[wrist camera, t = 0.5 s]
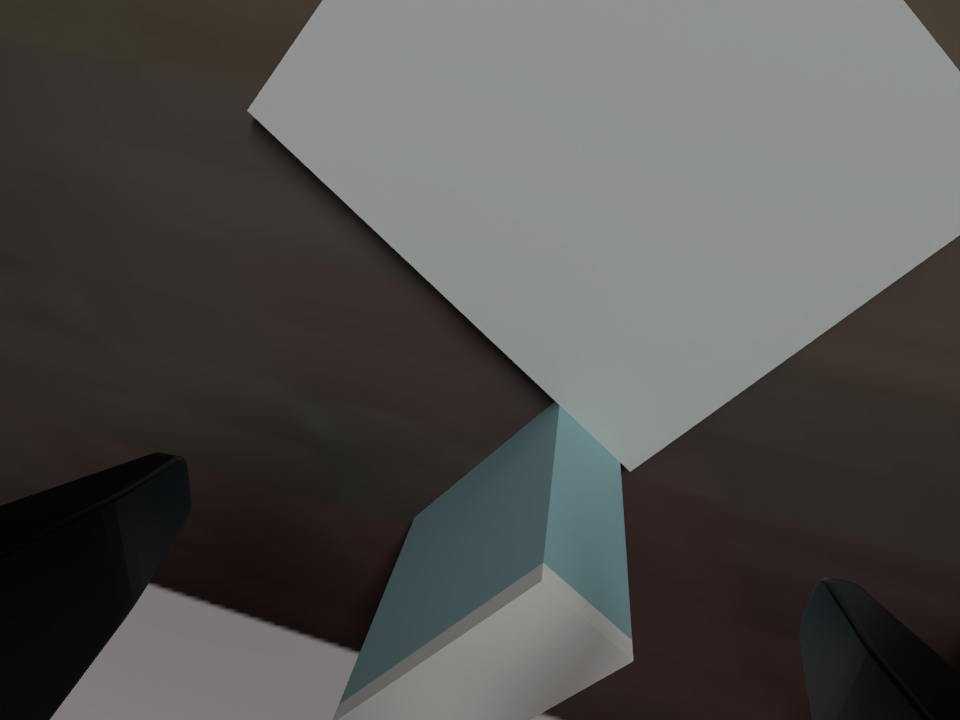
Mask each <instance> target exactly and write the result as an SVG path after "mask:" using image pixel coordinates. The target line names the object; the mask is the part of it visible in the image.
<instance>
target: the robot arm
mask: <svg viewBox="0 0 960 720" xmlns="http://www.w3.org/2000/svg"><path fill="white" fill-rule="evenodd" d="M190 510H191V492H190V484H189V475H188V467H187V463H186V461H185V460H184V459H183V458H182V457H180V456H176V455H170V454H165V453H153V454H150V455H147V456H144V457H141V458H138V459H135V460H132V461H129V462H126V463H124V464H121V465H118V466H115V467H112V468H109V469H106V470H103V471H100V472H97V473H94V474H92V475H89V476H86V477H83V478H80V479H77V480H74V481H71V482H68V483H65V484H62V485H60V486H57V487H54V488H51V489H48V490H45V491H42V492H39V493H36V494H33V495H31V496H28V497H25V498H22V499H19V500H16V501H13V502H10V503H7V504H4V505H1V506H0V720H50V718H51V717H52V716H53V714H54V713H55V712H56V710H57V709H58V708H59V706H60V705H61V704H62V702H63V701H64V700H65V698H66V697H67V696H68V694H69V693H70V692H71V690H72V689H73V688H74V686H75V685H76V684H77V682H78V681H79V680H80V678H81V677H82V676H83V674H84V673H85V672H86V670H87V669H88V668H89V666H90V665H91V664H92V662H93V661H94V659H95V658H96V657H97V656H98V654H99V653H100V652H101V650H102V649H103V648H104V646H105V645H106V644H107V642H108V641H109V640H110V638H111V637H112V636H113V634H114V633H115V632H116V630H117V629H118V628H119V626H120V625H121V623H122V622H123V621H124V619H125V618H126V617H127V615H128V614H129V612H130V611H131V610H132V608H133V607H134V605H135V604H136V602H137V601H138V599H139V598H140V596H141V594H142V593H143V591H144V590H145V588H146V586H147V585H148V583H149V581H150V580H151V578H152V577H153V575H154V573H155V572H156V570H157V568H158V567H159V565H160V563H161V562H162V560H163V558H164V557H165V555H166V553H167V552H168V550H169V548H170V547H171V545H172V543H173V542H174V540H175V538H176V537H177V535H178V533H179V532H180V530H181V529H182V527H183V525H184V524H185V522H186V520H187V518H188V516H189V514H190ZM799 642H800V648H801V655H802V661H803V668H804V674H805V680H806V687H807V693H808V700H809V706H810V713H811V719H812V720H960V673H959V672H958V671H957V670H956V669H955V668H953V667H952V666H951V665H950V664H949V663H948V662H947V661H945V660H944V659H943V658H942V657H941V656H940V655H938V654H937V653H936V652H935V651H934V650H933V649H931V648H930V647H929V646H928V645H927V644H926V643H925V642H923V641H922V640H921V639H920V638H919V637H918V636H916V635H915V634H914V633H913V632H912V631H911V630H910V629H908V628H907V627H906V626H905V625H904V624H903V623H901V622H900V621H899V620H898V619H897V618H896V617H894V616H893V615H892V614H891V613H890V612H889V611H888V610H886V609H885V608H884V607H883V606H882V605H881V604H879V603H878V602H877V601H876V600H875V599H874V598H872V597H871V596H870V595H869V594H868V593H867V592H866V591H864V590H863V589H862V588H861V587H860V586H858V585H857V584H855V583H852V582H848V581H843V580H837V579H832V578H823V579H820V580H819V581H818V582H817V584H816V586H815V588H814V591H813V593H812V596H811V598H810V601H809V603H808V606H807V608H806V611H805V613H804V616H803V618H802V621H801V624H800V629H799Z"/></svg>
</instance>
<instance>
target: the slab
mask: <svg viewBox="0 0 960 720" xmlns="http://www.w3.org/2000/svg"><path fill="white" fill-rule="evenodd" d="M631 662H633V649H632V634H631V618H630V603H629V588H628V573H627V558H626V543H625V527H624V512H623V497H622V482H621V467H620V462H619V461H618V460H617V459H616V458H615V457H614V456H613V455H612V454H611V453H610V452H609V451H608V450H606V449H605V448H604V447H603V446H602V445H601V444H600V443H599V442H598V441H597V440H596V439H595V438H594V437H593V436H592V435H591V434H590V433H588V432H587V431H586V430H585V429H584V428H583V427H582V426H581V425H580V424H579V423H578V422H577V421H576V420H575V419H574V418H573V417H571V416H570V415H569V414H568V413H567V412H566V411H565V410H564V409H563V408H562V407H561V406H560V405H559V404H558V403H557V402H556V401H555V402H554V403H552V404H551V405H550V406H549V407H548V408H546V409H545V410H544V411H543V412H542V413H540V414H539V415H538V416H537V417H536V418H534V419H533V420H532V421H531V422H529V423H528V424H527V425H526V426H525V427H523V428H522V429H521V430H520V431H519V432H517V433H516V434H515V435H514V436H513V437H511V438H510V439H509V440H508V441H506V442H505V443H504V444H503V445H502V446H500V447H499V448H498V449H497V450H496V451H494V452H493V453H492V454H491V455H490V456H488V457H487V458H486V459H485V460H483V461H482V462H481V463H480V464H479V465H477V466H476V467H475V468H474V469H473V470H471V471H470V472H469V473H468V474H467V475H465V476H464V477H463V478H462V479H460V480H459V481H458V482H457V483H456V484H454V485H453V486H452V487H451V488H450V489H448V490H447V491H446V492H445V493H444V494H442V495H441V496H440V497H439V498H437V499H436V500H435V501H434V502H433V503H431V504H430V505H429V506H428V507H427V508H425V509H424V510H423V511H422V512H421V513H419V514H418V515H417V516H416V517H415V518H414V520H413V522H412V525H411V527H410V530H409V532H408V535H407V537H406V540H405V542H404V545H403V547H402V550H401V552H400V555H399V557H398V560H397V562H396V565H395V567H394V570H393V572H392V575H391V577H390V580H389V582H388V584H387V587H386V589H385V592H384V594H383V597H382V599H381V602H380V604H379V607H378V609H377V612H376V614H375V617H374V619H373V622H372V624H371V627H370V629H369V632H368V634H367V637H366V639H365V641H364V644H363V646H362V649H361V651H360V654H359V656H358V659H357V661H356V664H355V666H354V669H353V671H352V674H351V676H350V679H349V681H348V684H347V686H346V689H345V691H344V694H343V696H342V699H341V701H340V704H339V706H338V709H337V711H336V713H335V716H334V718H333V720H530V719H532V718H534V717H535V716H537V715H539V714H541V713H542V712H544V711H546V710H548V709H549V708H551V707H553V706H555V705H557V704H558V703H560V702H562V701H564V700H565V699H567V698H569V697H571V696H572V695H574V694H576V693H578V692H580V691H581V690H583V689H585V688H587V687H588V686H590V685H592V684H594V683H595V682H597V681H599V680H601V679H602V678H604V677H606V676H608V675H610V674H611V673H613V672H615V671H617V670H618V669H620V668H622V667H624V666H625V665H627V664H629V663H631Z"/></svg>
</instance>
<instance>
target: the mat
mask: <svg viewBox="0 0 960 720" xmlns="http://www.w3.org/2000/svg"><path fill="white" fill-rule="evenodd" d="M247 111H248V112H249V113H250V114H251V115H252V116H253V117H254V118H256V119H257V120H258V121H259V122H260V123H261V124H262V125H263V126H264V127H265V128H266V129H267V130H268V131H269V132H270V133H271V134H272V135H274V136H275V137H276V138H277V139H278V140H279V141H280V142H281V143H282V144H283V145H284V146H285V147H286V148H287V149H288V150H289V151H291V152H292V153H293V154H294V155H295V156H296V157H297V158H298V159H299V160H300V161H301V162H302V163H303V164H304V165H305V166H306V167H307V168H309V169H310V170H311V171H312V172H313V173H314V174H315V175H316V176H317V177H318V178H319V179H320V180H321V181H322V182H323V183H324V184H326V185H327V186H328V187H329V188H330V189H331V190H332V191H333V192H334V193H335V194H336V195H337V196H338V197H339V198H340V199H341V200H342V201H344V202H345V203H346V204H347V205H348V206H349V207H350V208H351V209H352V210H353V211H354V212H355V213H356V214H357V215H358V216H359V217H360V218H362V219H363V220H364V221H365V222H366V223H367V224H368V225H369V226H370V227H371V228H372V229H373V230H374V231H375V232H376V233H377V234H379V235H380V236H381V237H382V238H383V239H384V240H385V241H386V242H387V243H388V244H389V245H390V246H391V247H392V248H393V249H394V250H395V251H397V252H398V253H399V254H400V255H401V256H402V257H403V258H404V259H405V260H406V261H407V262H408V263H409V264H410V265H411V266H412V267H414V268H415V269H416V270H417V271H418V272H419V273H420V274H421V275H422V276H423V277H424V278H425V279H426V280H427V281H428V282H429V283H430V284H432V285H433V286H434V287H435V288H436V289H437V290H438V291H439V292H440V293H441V294H442V295H443V296H444V297H445V298H446V299H447V300H448V301H450V302H451V303H452V304H453V305H454V306H455V307H456V308H457V309H458V310H459V311H460V312H461V313H462V314H463V315H464V316H465V317H467V318H468V319H469V320H470V321H471V322H472V323H473V324H474V325H475V326H476V327H477V328H478V329H479V330H480V331H481V332H482V333H483V334H485V335H486V336H487V337H488V338H489V339H490V340H491V341H492V342H493V343H494V344H495V345H496V346H497V347H498V348H499V349H500V350H502V351H503V352H504V353H505V354H506V355H507V356H508V357H509V358H510V359H511V360H512V361H513V362H514V363H515V364H516V365H517V366H518V367H520V368H521V369H522V370H523V371H524V372H525V373H526V374H527V375H528V376H529V377H530V378H531V379H532V380H533V381H534V382H535V383H536V384H538V385H539V386H540V387H541V388H542V389H543V390H544V391H545V392H546V393H547V394H548V395H549V396H550V397H551V398H552V399H553V400H555V401H556V402H557V403H558V404H559V405H560V406H561V407H562V408H563V409H564V410H565V411H566V412H567V413H568V414H569V415H570V416H571V417H573V418H574V419H575V420H576V421H577V422H578V423H579V424H580V425H581V426H582V427H583V428H584V429H585V430H586V431H587V432H588V433H590V434H591V435H592V436H593V437H594V438H595V439H596V440H597V441H598V442H599V443H600V444H601V445H602V446H603V447H604V448H605V449H606V450H608V451H609V452H610V453H611V454H612V455H613V456H614V457H615V458H616V459H617V460H618V461H619V462H620V463H621V464H622V465H623V466H624V467H626V468H627V469H628V470H629V471H630V472H631V471H632V470H633V469H635V468H636V467H638V466H639V465H640V464H642V463H643V462H645V461H646V460H647V459H649V458H650V457H652V456H653V455H654V454H656V453H657V452H658V451H660V450H661V449H663V448H664V447H665V446H667V445H668V444H670V443H671V442H672V441H674V440H675V439H677V438H678V437H679V436H681V435H682V434H683V433H685V432H686V431H688V430H689V429H690V428H692V427H693V426H695V425H696V424H697V423H699V422H700V421H702V420H703V419H704V418H706V417H707V416H709V415H710V414H711V413H713V412H714V411H715V410H717V409H718V408H720V407H721V406H722V405H724V404H725V403H727V402H728V401H729V400H731V399H732V398H734V397H735V396H736V395H738V394H739V393H741V392H742V391H743V390H745V389H746V388H747V387H749V386H750V385H752V384H753V383H754V382H756V381H757V380H759V379H760V378H761V377H763V376H764V375H766V374H767V373H768V372H770V371H771V370H773V369H774V368H775V367H777V366H778V365H779V364H781V363H782V362H784V361H785V360H786V359H788V358H789V357H791V356H792V355H793V354H795V353H796V352H798V351H799V350H800V349H802V348H803V347H805V346H806V345H807V344H809V343H810V342H811V341H813V340H814V339H816V338H817V337H818V336H820V335H821V334H823V333H824V332H825V331H827V330H828V329H830V328H831V327H832V326H834V325H835V324H837V323H838V322H839V321H841V320H842V319H843V318H845V317H846V316H848V315H849V314H850V313H852V312H853V311H855V310H856V309H857V308H859V307H860V306H862V305H863V304H864V303H866V302H867V301H869V300H870V299H871V298H873V297H874V296H875V295H877V294H878V293H880V292H881V291H882V290H884V289H885V288H887V287H888V286H889V285H891V284H892V283H894V282H895V281H896V280H898V279H899V278H901V277H902V276H903V275H905V274H906V273H907V272H909V271H910V270H912V269H913V268H914V267H916V266H917V265H919V264H920V263H921V262H923V261H924V260H926V259H927V258H928V257H930V256H931V255H932V254H934V253H935V252H937V251H938V250H939V249H941V248H942V247H944V246H945V245H946V244H948V243H949V242H951V241H952V240H953V239H955V238H956V237H958V236H959V235H960V71H959V70H958V69H957V67H956V66H955V65H954V64H953V62H952V61H951V60H950V59H949V57H948V56H947V55H946V54H945V52H944V51H943V50H942V48H941V47H940V46H939V45H938V43H937V42H936V41H935V40H934V38H933V37H932V36H931V35H930V33H929V32H928V31H927V29H926V28H925V27H924V26H923V24H922V23H921V22H920V21H919V19H918V18H917V17H916V16H915V14H914V13H913V12H912V10H911V9H910V8H909V7H908V5H907V4H906V3H905V2H904V0H323V1H322V2H321V4H320V5H319V6H318V8H317V9H316V11H315V12H314V14H313V15H312V17H311V18H310V20H309V21H308V23H307V24H306V25H305V27H304V28H303V30H302V31H301V33H300V34H299V36H298V37H297V39H296V40H295V41H294V43H293V44H292V46H291V47H290V49H289V50H288V52H287V53H286V55H285V56H284V58H283V59H282V60H281V62H280V63H279V65H278V66H277V68H276V69H275V71H274V72H273V74H272V75H271V77H270V78H269V79H268V81H267V82H266V84H265V85H264V87H263V88H262V90H261V91H260V93H259V94H258V96H257V97H256V98H255V100H254V101H253V103H252V104H251V106H250V107H249V109H248V110H247Z"/></svg>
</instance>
